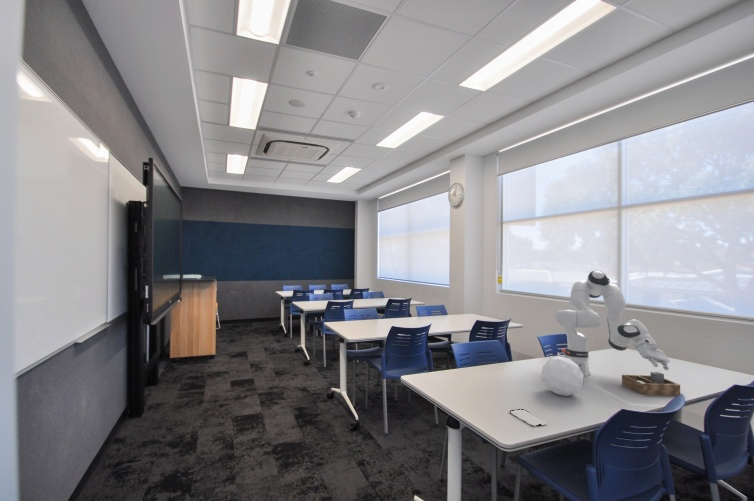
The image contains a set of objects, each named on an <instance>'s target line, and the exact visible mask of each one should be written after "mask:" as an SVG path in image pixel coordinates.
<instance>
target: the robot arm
mask: <svg viewBox="0 0 754 501" xmlns="http://www.w3.org/2000/svg"><path fill="white" fill-rule="evenodd" d="M610 282H611V280H610V279H609V277H608V276H607V274H606V273H605V272H604V271H601V270H597V269H596V270H595V269H594V270H592V271H591V272H589V274H588V276H587V279H586V281H582V280H579V281H575V282H574V283H573V285H572V288H571V291H570V298H569V304H570V306H571V308H572V309H558V310H557V311H556V312H555V314H554V320H555V322H556V324H557V325H559V326H560V327H561V328H562V330H563V331H564V332H565V335H566V339H567V341H566V342H567V348H566V349H565V348H561V352H563V353H564V354H563V355H561V356H562V357H564V358H569V359H571V360H572V361H573V362H574V363H575V364H577V365H578V367H579V368H580V370H581V371H582V373H583V378H585V377H586V378H587V377H589V376H590V375H591V374H592V373H591V370H590V366H589V364H590V363H589V349H588V346H589V344H588V341H589V340H588V338H587V337H586V335H584V334H583V333H581V332H579V331H578V329H585V330H594V329H597V330H598V329H599V328H600V327H601V325H602V323H603V322H602V321H603V320H602V317H601V315H600V314H599V313H597V312H596V311H595V310H593V308H592V307H591V305H590V298H591V299H598V298H600V297H601V296H602V297H603V298H602V299H603V302H604V307H605V311H606V322H607V326H608V332H609V333H608V334H609V336H608V340H607V342H608V344H609V346H610V347H612V348H613V349H614V350H616V351H626V350H627V349H628V347H629V345H630V344H631V343H632V342H635V343H633V347H634V348H635V349H636V351H637V352H638V354H639V355H640V356H641V357H642V358H643V359H645V360H648V362H650V363H651V364H652V366H653V367H656V368H657V367H659V364H660V365H662V366H663V367H662V368H663V370H665V371H668V370H670V368H669V367H668V364H669V363H670V359H669V358H668V357H667V355H666V354H665V352H664V351H663V350H661V349H659V348H658V346H659V345H658V344H657V342H656V341H655V339H654V338H653V336H651V334H650V331H649V330H648V328H647V327H646V326H645V325H644V324H643V322H641V321H640V320H638V319H630V320H629V319H628V320H627V321H626V322H625V323H624V324H621V318H622V315H623V313H624V312H625V309H626V299H625V297H624V294H623V292H622V290H621V289H620V287H619V286H618V285H616V284H613V283H610ZM620 324H621V325H620Z"/></svg>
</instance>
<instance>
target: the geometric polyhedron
mask: <svg viewBox="0 0 754 501" xmlns="http://www.w3.org/2000/svg"><path fill="white" fill-rule="evenodd" d="M559 356H560V355H559ZM559 356H558V355H557V356H553V357H554V358H551V359H550V358H549V359H548V360H547V361H546V362H545V363H544V364H543V365H542V369H541V376H540V377H541V378H542V381H543V383H544V384H545V387H546V388H547V389H549V390H550V391H551V392H552V393H554V394H556V395H560V396H563V397H569V396H572V395H574V394H576V393H577V394H578V393H579V391H580V389H581V388H582V387H583V382H584V377H583V373H582V371H581V370H580V368H579V367H578V365H577V364H575V363H574V362H573V361H572V360H571V359H569V358H564V357H559Z"/></svg>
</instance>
